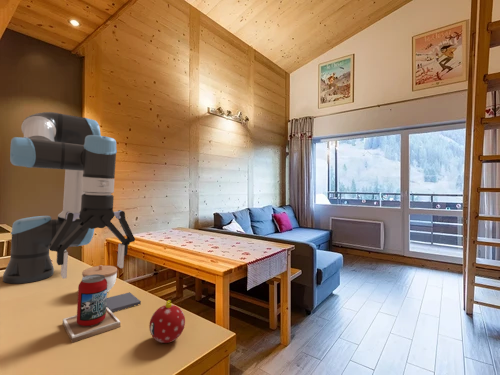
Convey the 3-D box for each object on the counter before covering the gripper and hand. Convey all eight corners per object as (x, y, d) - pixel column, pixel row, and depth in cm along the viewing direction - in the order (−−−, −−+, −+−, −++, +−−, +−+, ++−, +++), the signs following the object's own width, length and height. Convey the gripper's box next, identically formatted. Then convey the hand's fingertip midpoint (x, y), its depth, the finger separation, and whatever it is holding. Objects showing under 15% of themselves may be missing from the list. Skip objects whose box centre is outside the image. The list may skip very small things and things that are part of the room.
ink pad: (100, 302, 84) (101, 299, 84) (129, 295, 90) (129, 292, 90) (110, 312, 78) (110, 309, 78) (140, 304, 84) (140, 301, 84)
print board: (62, 324, 71) (62, 318, 71) (106, 311, 78) (107, 306, 78) (72, 342, 63) (72, 336, 63) (120, 326, 71) (120, 321, 71)
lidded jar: (100, 300, 85) (102, 271, 85) (73, 296, 88) (74, 268, 88) (122, 288, 96) (124, 262, 96) (97, 284, 98) (99, 259, 98)
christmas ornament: (190, 341, 66) (192, 302, 66) (158, 355, 60) (160, 312, 60) (173, 327, 72) (175, 291, 72) (142, 338, 66) (144, 299, 66)
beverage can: (84, 331, 66) (86, 284, 66) (71, 322, 70) (73, 278, 69) (110, 320, 72) (112, 277, 72) (97, 313, 75) (99, 271, 75)
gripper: (41, 194, 59) (37, 287, 59) (149, 195, 77) (145, 266, 77) (37, 191, 64) (32, 277, 65) (138, 193, 82) (134, 260, 82)
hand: (93, 271), depth 71 cm, fingers open, 13 cm apart
